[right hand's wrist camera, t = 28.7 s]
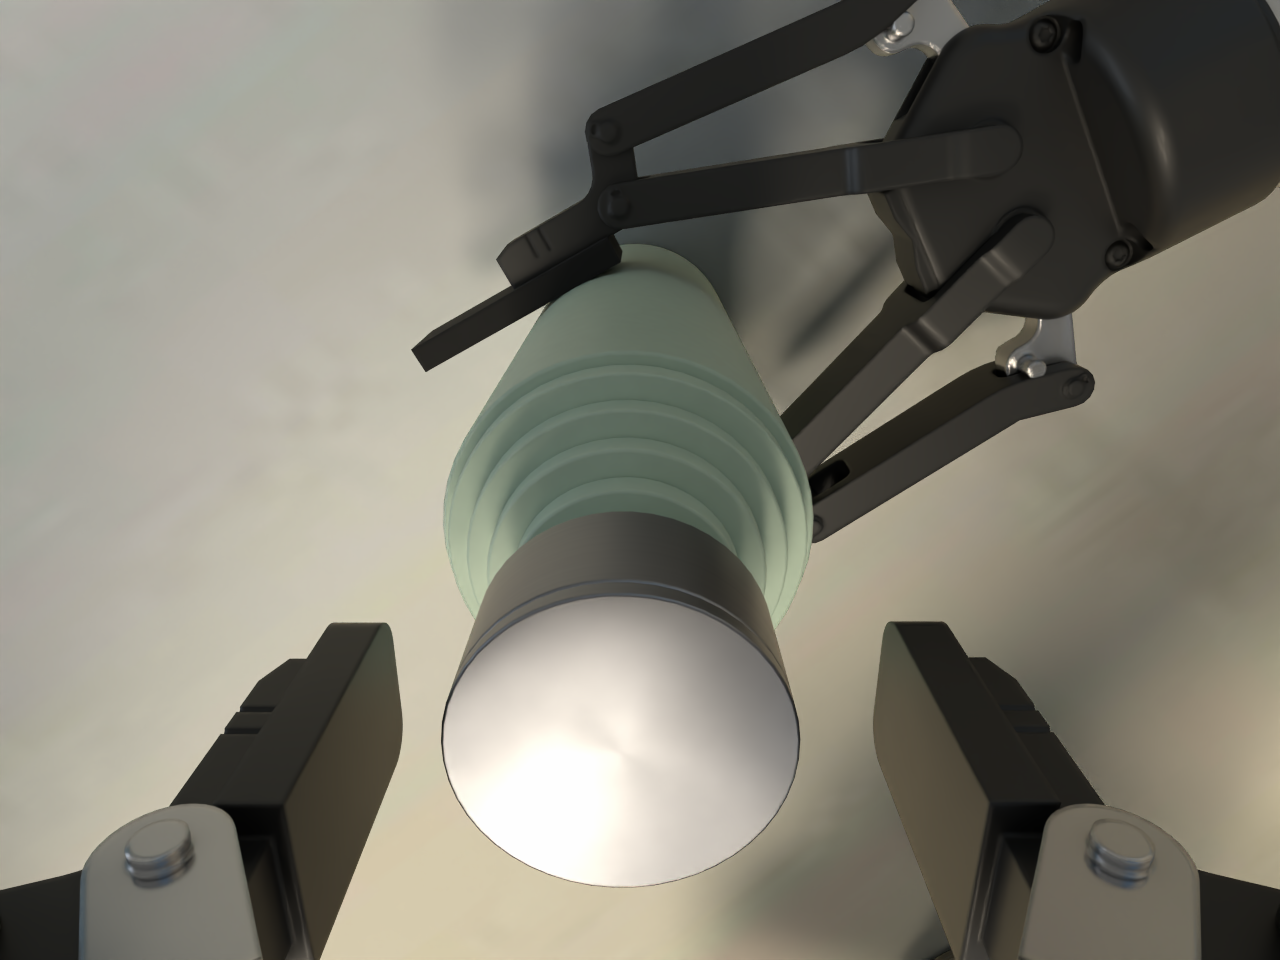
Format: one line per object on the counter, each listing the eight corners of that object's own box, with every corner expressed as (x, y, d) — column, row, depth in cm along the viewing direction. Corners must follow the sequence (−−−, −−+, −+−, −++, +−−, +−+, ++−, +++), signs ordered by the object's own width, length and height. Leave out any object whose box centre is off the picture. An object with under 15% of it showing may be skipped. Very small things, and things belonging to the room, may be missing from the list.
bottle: (743, 260, 31) (969, 512, 10) (706, 436, 34) (822, 951, 12) (557, 228, 31) (360, 414, 9) (534, 408, 34) (334, 888, 12)
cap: (755, 771, 13) (778, 895, 11) (477, 758, 13) (444, 880, 11) (788, 517, 12) (823, 603, 9) (474, 500, 12) (434, 584, 9)
